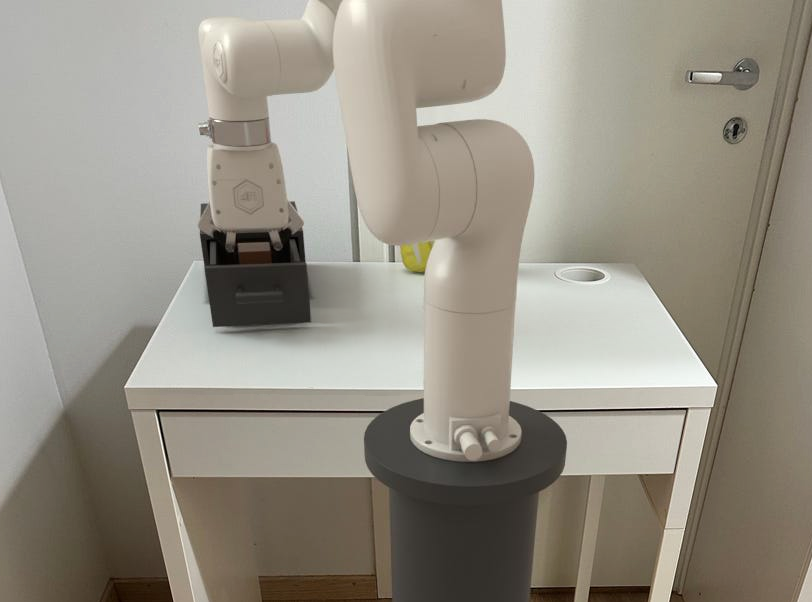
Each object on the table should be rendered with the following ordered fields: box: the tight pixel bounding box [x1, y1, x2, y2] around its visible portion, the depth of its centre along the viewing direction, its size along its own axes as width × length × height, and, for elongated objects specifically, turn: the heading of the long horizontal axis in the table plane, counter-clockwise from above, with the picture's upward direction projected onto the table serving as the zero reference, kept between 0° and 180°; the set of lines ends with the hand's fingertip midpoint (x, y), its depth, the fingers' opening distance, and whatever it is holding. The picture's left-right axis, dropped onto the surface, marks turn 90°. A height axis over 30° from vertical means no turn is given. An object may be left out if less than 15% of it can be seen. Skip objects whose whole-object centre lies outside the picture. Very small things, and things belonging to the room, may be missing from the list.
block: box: [238, 242, 272, 265], centre depth 128 cm, size 4×4×4 cm
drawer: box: [203, 237, 312, 328], centre depth 128 cm, size 21×13×8 cm, turn 12°
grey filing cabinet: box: [199, 200, 307, 267], centre depth 140 cm, size 18×15×10 cm
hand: (257, 277), depth 129 cm, fingers closed on block, 4 cm apart
